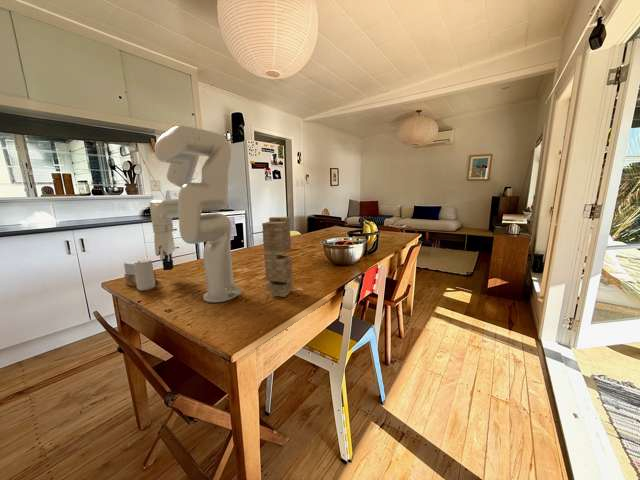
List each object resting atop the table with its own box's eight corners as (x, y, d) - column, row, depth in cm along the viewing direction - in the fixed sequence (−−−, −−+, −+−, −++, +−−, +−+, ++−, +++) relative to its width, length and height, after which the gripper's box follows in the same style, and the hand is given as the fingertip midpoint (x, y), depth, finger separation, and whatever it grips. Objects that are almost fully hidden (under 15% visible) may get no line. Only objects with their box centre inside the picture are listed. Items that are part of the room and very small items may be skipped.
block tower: (265, 296, 95) (260, 218, 90) (275, 287, 103) (271, 216, 98) (284, 298, 93) (281, 219, 88) (293, 289, 101) (290, 216, 96)
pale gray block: (152, 270, 114) (151, 260, 114) (137, 275, 108) (135, 264, 107) (141, 269, 117) (139, 259, 116) (125, 274, 110) (123, 263, 109)
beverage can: (134, 289, 105) (129, 261, 102) (150, 284, 110) (146, 258, 108) (142, 292, 102) (138, 263, 99) (159, 287, 107) (155, 259, 105)
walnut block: (156, 280, 116) (154, 270, 115) (139, 287, 108) (137, 275, 107) (143, 279, 118) (141, 269, 117) (126, 285, 111) (124, 274, 110)
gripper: (160, 226, 117) (165, 265, 120) (145, 231, 102) (152, 275, 105) (178, 226, 119) (183, 264, 122) (166, 230, 104) (172, 273, 107)
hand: (168, 269), depth 114 cm, fingers closed
